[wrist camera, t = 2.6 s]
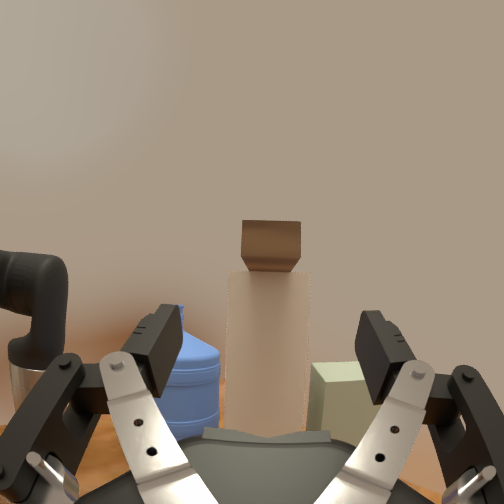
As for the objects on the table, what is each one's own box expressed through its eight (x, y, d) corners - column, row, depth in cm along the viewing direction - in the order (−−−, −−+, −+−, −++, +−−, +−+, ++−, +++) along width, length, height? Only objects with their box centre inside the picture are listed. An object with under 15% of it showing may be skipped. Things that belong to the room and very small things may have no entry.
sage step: (379, 513, 22) (412, 374, 25) (305, 524, 22) (325, 382, 26) (360, 479, 31) (380, 359, 35) (298, 485, 32) (311, 362, 36)
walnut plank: (300, 257, 19) (300, 221, 20) (240, 256, 19) (242, 220, 20) (283, 282, 41) (283, 264, 41) (254, 281, 41) (255, 264, 41)
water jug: (215, 439, 49) (218, 306, 54) (224, 480, 33) (227, 308, 38) (139, 434, 46) (136, 300, 51) (124, 473, 30) (114, 300, 35)
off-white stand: (289, 524, 22) (310, 272, 28) (224, 522, 23) (228, 270, 28) (285, 485, 32) (299, 280, 38) (232, 483, 33) (238, 279, 38)
